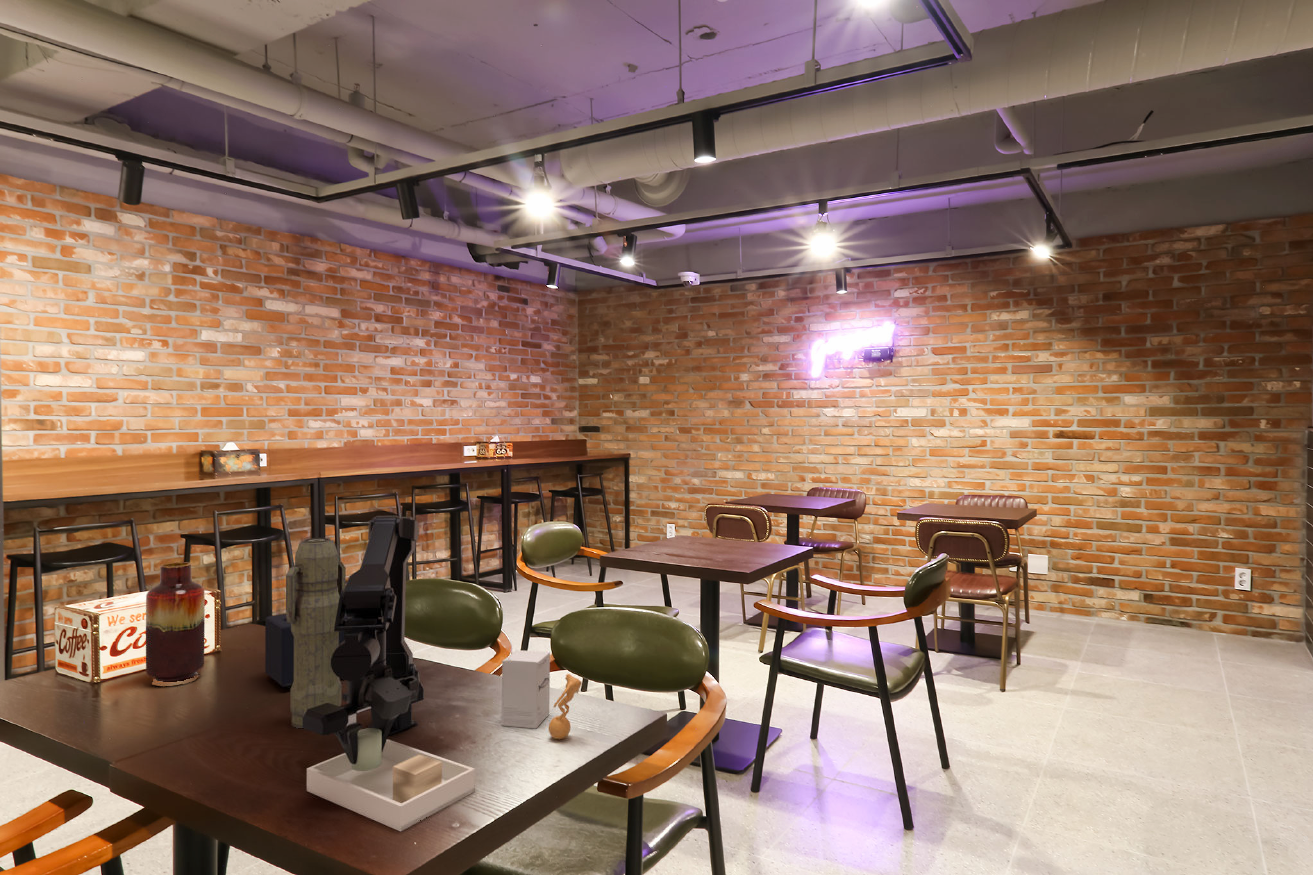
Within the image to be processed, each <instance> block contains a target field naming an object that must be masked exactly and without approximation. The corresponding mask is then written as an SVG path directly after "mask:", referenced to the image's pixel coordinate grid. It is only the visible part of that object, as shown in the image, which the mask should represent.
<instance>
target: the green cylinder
mask: <svg viewBox="0 0 1313 875" xmlns="http://www.w3.org/2000/svg"><path fill="white" fill-rule="evenodd" d="M381 763H382V731H381V730H380V729H377V728H369V727H368V728H364V729H363V728H361V729H360V730H359V731H358V755H357V763H356V764H352V769H354V770H356V771H368V770H372V769H375V768H377V767H379V766H380V765H381Z"/></svg>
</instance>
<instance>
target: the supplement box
mask: <svg viewBox="0 0 1313 875" xmlns="http://www.w3.org/2000/svg"><path fill="white" fill-rule="evenodd" d="M550 654H551V652H550V651H540V650H539V651H538V650H536V651H535V650H515V651H514V652H512V653H511V654H510V655H508V656H507V657H506V658H504V659H503V660H502V662H501V663H502V666H501V670H502V671H501V685H502V686H501V726H504V727H516V728H525V729H528V728H529V729H538V728H539V726H540V725H541V724H542V722H543V721H544V720H545V719H546V718H547V717H548V716H549V715H550V698H551V697H550V693H551V692H550V686H551V685H550V683H551V682H550V681H551V680H550V677H551V676H550V673H551V672H550V670H551V668H550V667H551V663H550V660H551V659H550V658H551V655H550Z"/></svg>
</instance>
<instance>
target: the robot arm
mask: <svg viewBox="0 0 1313 875" xmlns="http://www.w3.org/2000/svg"><path fill="white" fill-rule="evenodd" d="M419 525H420V523H419V522H418V521H417V520H415V519H413V517H412V516H398V515H376V516H375V517H371V520H368V533H367V534H368V536H367V540H368V541H367V544H366V548H365V551H364V554H363V558H362V561H361V565H360V567H359V569H358V570H357V571H355V572H353V573H352V574H350V575H349V577H348V578H347V580H346V585H345V588H344V590H341V593H340V597H339V603H338V609H337V615H336V621H335V626H334V632H337V631H345V637H344V641H343V642H342V643H341V644H340V645H339V646H338V647H337V648H336V650H335V651H334V653H333V655H332V658H331V668H332V670H333V672H334V673H335V675H336V676H337V677H339V679H340V680H343V681H347V685H346V689H347V691H346V692H341V701H342V700H343V701H344V702H347V704H343V705H341V706H340V707H339V706H336V705H333V704H330V703H325V704H322V705H319V706H316V707H313V708H310V709H307V710H306V712H305V713H304V715H303V721H302V728H304V729H303V730H306V731H309V732H312V733H316V734H317V735H320V736H330V735H332V734H334V735H335V736H336V737H337V739H338V741H339V743H340V744H341V747H342V749H343V751H344V753H346V755H347V757H348V759H349V761H350V763H351V764H356V763H357V755H358V731H359V730H361V729H362V727H363V724H362V723H358V722H357V715H358V714H360V713H361V714H362V713H364V712H366V711H369V710H370V716H371V717H370V718H371V724H368V728H377V729H380V730H381V731H382V752H383V749H384V746H385V743H386V740H387V739H388V737H389V735H394V734H396V733H399V732H401V731H404V730H406V729H409V728H412V727H413V726H416V725H418V721H417V720H414V719H413V717H412V714H413V712H412V710H413V707H412V706H413V704H415V703H418V702H420V701H423V700H424V699H425V688H424V685H423V684H422V683H421V680H420V673H419V670H418V669H417V666H416V663H414V660H413V659H414V658H413V657H414V654H413V652H412V650H411V648H410V647H409V644H408V643H407V641H406V640H405V633H406V632H405V629H406V591H407V586H406V585H407V562H408V561H409V560H410V558H411V556H412V554H414V551H415V550H416V543H417V542H418V541H419V536H420V526H419ZM345 613H346V615H347V618H348V619H354V618H362V619H354V620H344V617H345Z"/></svg>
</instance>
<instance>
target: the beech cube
mask: <svg viewBox="0 0 1313 875" xmlns="http://www.w3.org/2000/svg"><path fill="white" fill-rule="evenodd" d="M441 783H442V762H440V761H437V760H434V759H431V758H428V757H426V756H423V755H417V756H415V757H413V758H411V759H408V760H406V761H404V762H402V763H399V764H397V765H395V766H393V800H395V801H397V802H399V803H403V802H405V801H407V800H409V799H411V798H413V797H415V796H417V795H419V794H421V793H423V792H425V791H427V790H429V789H431V788H433V787H435V786H437V785H439V784H441Z"/></svg>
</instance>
